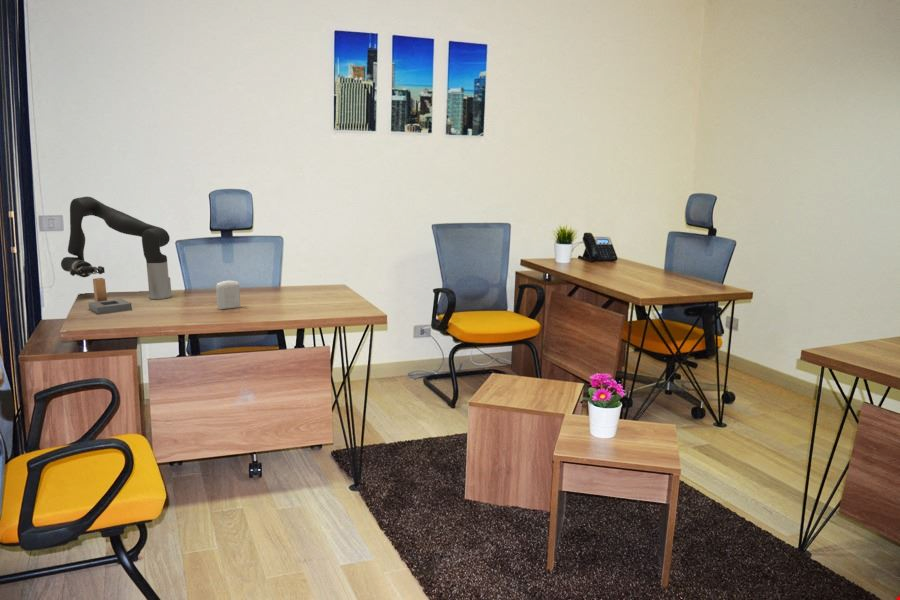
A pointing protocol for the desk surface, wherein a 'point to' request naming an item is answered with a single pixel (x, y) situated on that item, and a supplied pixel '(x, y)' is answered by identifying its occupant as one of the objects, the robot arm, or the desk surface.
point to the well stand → (110, 306)
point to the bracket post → (99, 289)
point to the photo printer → (228, 294)
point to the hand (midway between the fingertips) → (91, 272)
